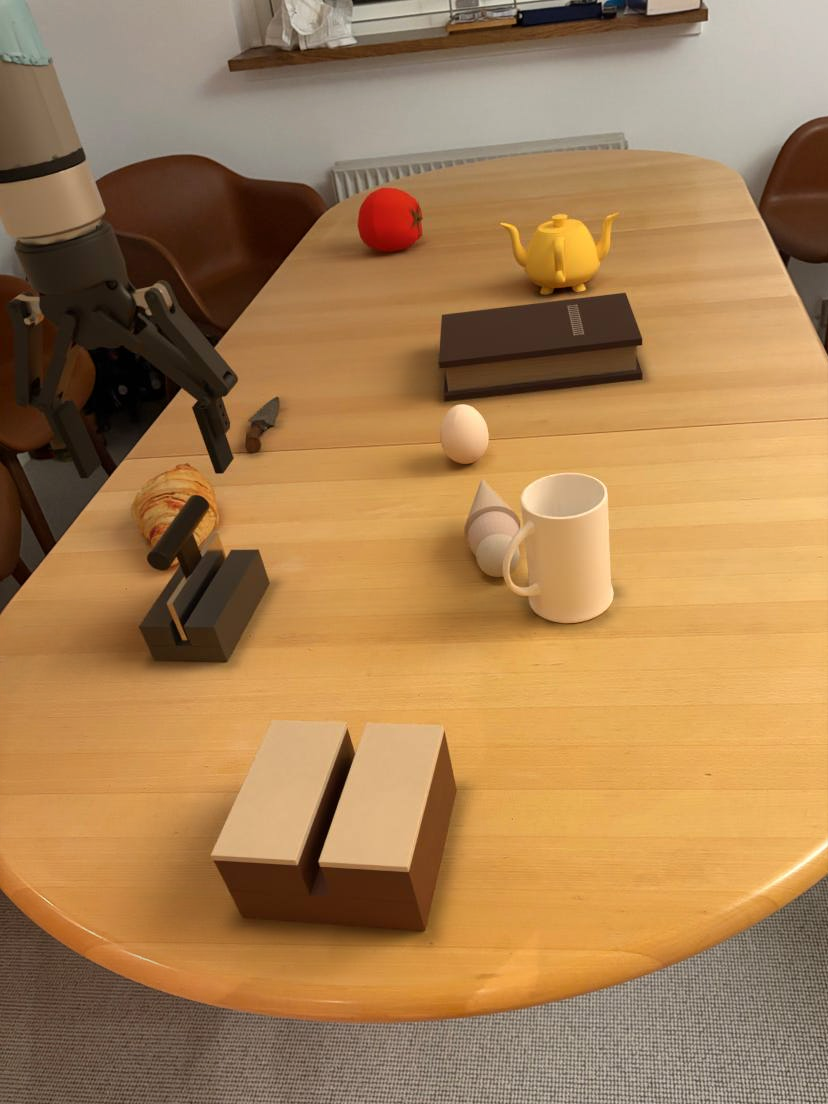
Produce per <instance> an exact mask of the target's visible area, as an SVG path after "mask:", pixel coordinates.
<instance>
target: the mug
mask: <svg viewBox="0 0 828 1104" xmlns="http://www.w3.org/2000/svg"><path fill="white" fill-rule="evenodd" d="M608 495H609V493H608V489H607V487H606V485H605V484H604V483H603V481H602V480H600V479H598V478H596V477H594V476H591V475H588V474H585V473H578V472H560V473H554V474H550V475H546V476H543V477H540V478H537V479H536V480H534V481H532V482H531V483H529V484H528V485H526V487H524V489H523V490H522V492H521V495H520V509H521V518H522V527H520V530H519V531H518V532H517V533H516V534H515V536H514V537H513V539H512V540H511V542H510V543H509V545H508V547H507V550H506V552H505V555H504V560H503V579H504V582H505V584H506V586H507V587H508V588H509V590H511V591H512V592H513V593H515V594H517V595H519V596H522V597H528V604H529V606H530V608H531V610H532V611H533V612H534V613H535V614H536V615H538V616H539V617H541V618H542V619H545V620H547V621H549V622H553V623H558V624H559V623H560V624H573V623H574V624H577V623H582V622H587V621H589V620H593V619H595V618H597V617H599V616H600V615H602V614H603V613H604V612H606V611H607V610H608V609H609V608H610V606H611V604H612V603H613V600H614V596H615V595H614V594H615V593H614V587H613V585H612V578H611V553H610V552H611V551H610V523H609V496H608ZM523 541H524V546H525V547H524V548H525V557H526V565H527V566H526V567H527V574H528V575H527V576H528V586H518V585H516V584H514V582H513V580H512V578H511V573H509V568H510V562H511V559H512V556H513V554H514V552H515V550H516V548H517V547H518V545H519V544H521V543H522V542H523ZM519 546H520V545H519ZM518 548H519V547H518Z"/></svg>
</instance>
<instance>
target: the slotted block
mask: <svg viewBox="0 0 828 1104" xmlns="http://www.w3.org/2000/svg"><path fill="white" fill-rule="evenodd" d="M199 550H200V552H201V550H202V549H199ZM184 576H185V575H184V574H183V572H182V569H181V567H180V565H179V566H178V568H177V569H176V570H175V572H174V574H173V575H172V576H171V577H170V579H169V580H168V582H167V584H166V585H165V587H164V588H163V590H162V591H161V593H160V594H159V595H158V597H157V599H156V600H155V601H154V603H153V604H152V606H151V607H150V609H149V610H148V612H147V614H146V615H145V616H144V618H143V619H142V621H141V622H140V623H139V625H138V628H139V629H138V630H139V631H140V633H141V635H142V637H143V639H144V641H145V644H146V646H147V648H148V651H149V653H150V655H151V657H152V659H153V661H154V662H155V661H157V662H158V661H159V662H214V663H215V662H219V663H220V662H222V663H223V662H225V663H228V661H229V660H230V658H231V656H232V654H233V652H234V650H235V648H236V647H237V645H238V643H239V642H240V639H241V637H242V636H243V634H244V631H245V630H246V628H247V626H248V625H249V622H250V621H251V619H252V617H253V615H254V613H255V611H256V610H257V608H258V606H259V604H260V602H261V600H262V598H263V597H264V595H265V593H266V591H267V589H268V587H269V585H270V583H271V582H270V579H269V575H268V573H267V570H266V567H265V565H264V561H263V558H262V555H261V553H260V549H231V550H229V553H228V554H227V555H226V559H225V561H224V562H223V564H222V565H221V567H220V569H219V570H218V572H217V574H216V575H215V577H214V578H213V580H212V582H211V583H210V585H209V586H208V588H207V590H206V591H205V593H204V595H203V596H202V598H201V599H200V601H199V603H198V604H197V606H196V608H195V609H194V611H193V612H192V614H191V616H190V617H189V619H188V620H187V622H186V624H185V625H184V629H185V632H186V634H187V636H188V639H189V643H183V641H182V638H181V636H180V634H179V631H178V629H177V627H176V625H175V622H174V620H173V618H172V615H171V613H170V611H169V608H168V606H167V602H168V600H169V599H170V597H171V596H172V594H173V593H174V591H175V590H176V588H177V587H178V585H179V584H180V582H181V581H182V579H183V578H184Z"/></svg>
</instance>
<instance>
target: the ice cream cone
mask: <svg viewBox="0 0 828 1104" xmlns="http://www.w3.org/2000/svg"><path fill="white" fill-rule="evenodd" d="M521 525H522V524H521V519H520V517H519V516H518V514H517V513H516V512H515V511H514V510H513V508H511V507H510V506H509V504H507V503H506V502H505V500H503V499H502V497H501V496H500V495H499V494H498V493H497V492H496V491H495V490H494V489H493V488H492V487H491V486H490V485H489V484H488V483H487V482H486V480H484V479H483V478H481V479H480V483H479V485H478V488H477V490H476V493H475V496H474V499H473V502H472V505H471V507H470V510H469V513H468V515H467V518H466V522H465V524H464V526H463V527H464V528H463V533H464V537H465V539H466V540H467V543H468V546H469V549H470V550H471V552H472V554H473V555H474V556H475V559H476V563H477V565H478V567H479V568H480V570H481V571H482V572H483V573H485V574H486V575H488V576H490V577H493V578H502V577H503V578H504V576H503V560H504V555H505V552H506V550H507V547H508V545H509V543H510V542H511V540H512V539H513V537H514V536H515V534H516V533H517V532H518V531H519V530H520V529H521ZM520 544H521V543H520ZM520 544H519V545H518V547H517V548H516V550H515V552H514V554H513V556H512V559H511V562H510V568H509V573H510V574H512V572H514V571H515V570H516V569H517V567H518V565H519V563H520V559H521V558H520V557H521V551H520V548H519V547H520Z"/></svg>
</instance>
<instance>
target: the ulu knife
mask: <svg viewBox="0 0 828 1104" xmlns="http://www.w3.org/2000/svg"><path fill="white" fill-rule="evenodd" d="M208 510H209V503H208V501H207V500H206V499H205V498H204V497H202V496H200V495H193V496H191V497H190V498H189V499H188V500H187V502H186V503H185V505H184V506H183V507H182V509H181V510H180V511H179V513H178V514H177V516H176V517H175V518H174V520H173V521H172V522H171V524H170V525H169V526H168V528H167V529H166V531H165V532H164V533H163V535H162V536H161V537H160V539H159V540H158V542H157V543H156V544H155V546H154V547H153V548H152V547H151V550H150V551H149V552H148V554H147V555H146V561H147V563H148V564H149V565H150V566H151V568H152V569H155V570H157V571H161V572H164V571H167V570H168V569H170V568H171V567H172V566H171V564H172V563H173V561H174V560H175V558H176V557H177V559H178V562H179V563H178V564H179V566H180V567H181V569H182V572H183V574H184V575H185V576H184V578H183V579H182V581H181V582H180V584H179V585H178V587H177V588H176V590H175V591H174V593H173V594H172V596H171V597H170V599H169V600H168V602H167V606H168V608H169V611H170V613H171V615H172V618H173V620H174V622H175V625H176V627H177V629H178V631H179V634H180V636H181V638H182V641H183V643H189V639H188V636H187V634H186V632H185V629H184V625H185V624H186V622H187V620H188V619H189V617H190V616H191V614H192V612H193V611H194V609H195V608H196V606H197V604H198V603H199V601H200V599H201V598H202V596H203V595H204V593H205V591H206V590H207V588H208V586H209V585H210V583H211V582H212V580H213V578H214V577H215V575H216V574H217V572H218V570H219V569H220V567H221V565H222V564H223V562H224V561H225V559H226V557H227V554H226V552H225V549H224V546H223V544H222V540H221V539H220V535H219V533H218V532H213V533H211V535H210V537H209V538H208V540H207V541H206V543H205V544H204V545H203V547H202V549H200V547H199V548H198V545H197V542H196V540H195V537H194V535H193V532H194V531H195V529H196V528H197V526H198V525H199V523H200V522H201V521H202V519H203V518H204V516H205V515H206V513H207V512H208ZM200 550H201V552H200Z"/></svg>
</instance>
